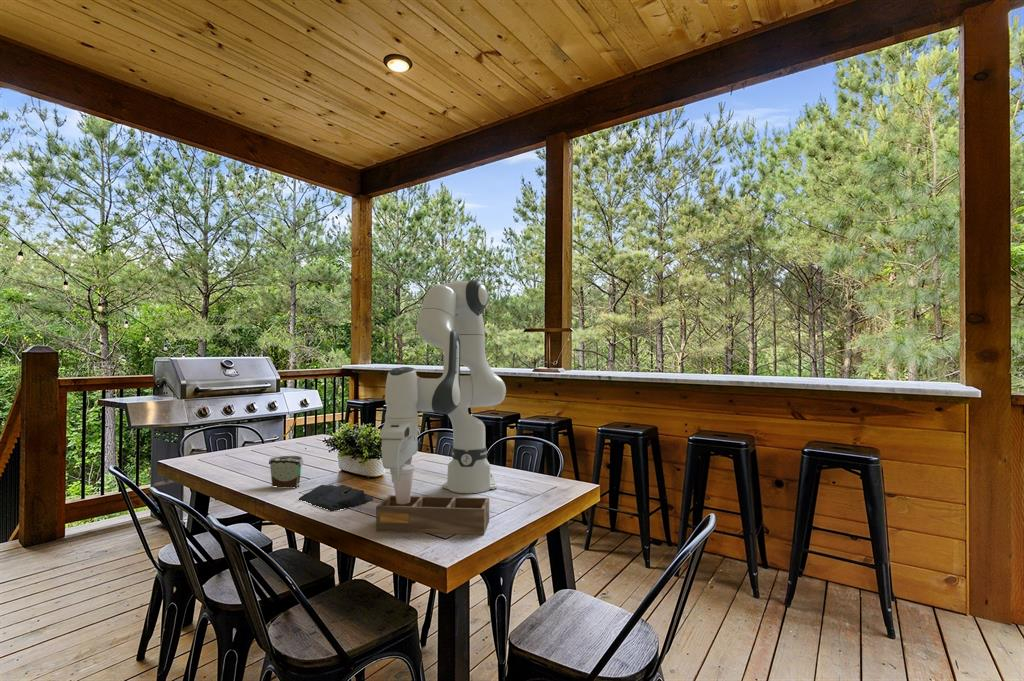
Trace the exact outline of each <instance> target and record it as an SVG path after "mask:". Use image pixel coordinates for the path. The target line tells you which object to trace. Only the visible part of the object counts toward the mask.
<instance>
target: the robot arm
mask: <svg viewBox="0 0 1024 681" xmlns="http://www.w3.org/2000/svg"><path fill="white" fill-rule="evenodd" d="M488 302H489V292H488V288H487V286H486V285H485V284H484V283H483V281H481V280H475V279H470V280H456V281H451V282H447V283H443V284H442V283H441V284H435V285H433V286H431V287H429V288H428V290H427V291H426V293H425V296H424V299H423V301H422V303H421V304H422V305H421V307H420V309H419V313H418V317H417V321H416V330H417V334H418V335H419V336H420V338H421V339H423V341H425V343H427V344H428V345H431V346H433V347H435V348H438V349H440V350H442V351H443V370H442V375H441V376H440V377H437V378H434V377H433V378H431V377H430V378H429V377H425V378H424V377H420V376H418V375H417V371H416V369H415V368H414V367H410V366H404V367H403V366H401V367H395V368H392V369H391V370H389V371H388V372H387V376H386V380H385V381H386V382H385V392H384V393H385V394H384V398H385V399H384V401H385V405H386V411H385V414H384V424H383V426H382V428H381V429H380V431H379V438H380V439H382V440H381V463H382V466H383V468H384V469H386V470H387V469H388V470H389V471H390V472H389V473H390V475H391V483H393V484H394V483H398V482H399V481H400V475H399V466H400V465H402V464H403V463H404V464H410V465H412V461H413V457H414V456H415V455H417V453H418V449H419V448H418V447H419V446H418V433H419V413H418V412H425V413H426V412H427V413H437V414H444V415H447V416H448V418H449V419H450V423H451V425H452V432H453V433H452V434H453V436H452V438H453V447H452V449H451V450H452V451H451V455H452V456H451V457H452V460H451V461H450V462H449V463H448V464H447V479H446V482H445V483H443V484H442V488H443V489H446V490H449V491H451V492H453V493H458V494H476V493H483V492H486V491H490V489H492V490H496V489H497V483H496V479H495V477H494V476H493V474H492V473H491V464H490V462H489V461H488V459H487V456H488V449H487V446H486V425H485V424H484V421H482V420H481V419H479V418H477V417H476V416H473V415H471V414H470V412H469V408H477V407H478V408H480V407H481V408H482V407H483V408H484V407H485V408H486V407H487V408H488V407H492V406H497V405H500V404H501V403H502V402H504V400H505V398H506V393H507V388H506V384H505V381H504V380H503V379H502V378H501V377H500V376H499V375H497V374H496V373H495V372H494V370H492V368H491V367H490V364H489V362H488V359H487V355H486V354H487V353H486V342H485V336H486V335H485V323H484V317H483V312H484V310H485V309H486V307H487V305H488ZM461 365H462V366H464V367H467V369H469V371H470V374H469V375H461ZM495 488H496V489H495Z"/></svg>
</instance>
